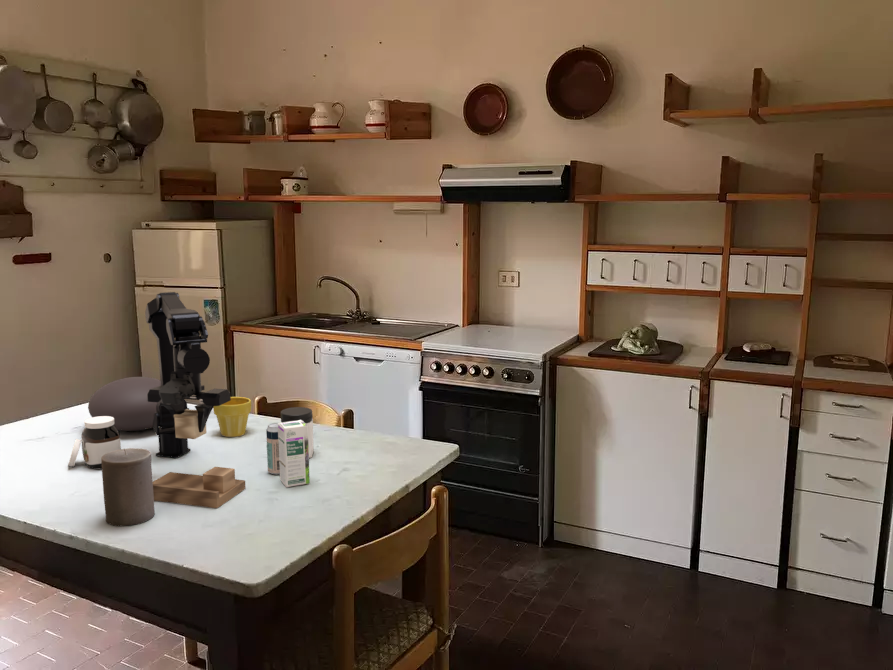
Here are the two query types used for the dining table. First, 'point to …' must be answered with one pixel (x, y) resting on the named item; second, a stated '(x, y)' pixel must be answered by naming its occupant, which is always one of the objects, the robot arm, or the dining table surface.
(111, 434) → the spread jar
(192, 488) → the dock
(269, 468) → the beer can
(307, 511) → the dining table surface
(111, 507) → the pillar candle
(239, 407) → the plant pot
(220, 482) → the box
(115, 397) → the flattened ellipsoid
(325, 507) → the dining table surface
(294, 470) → the syrup box
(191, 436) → the flanged wooden block
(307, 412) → the jar
